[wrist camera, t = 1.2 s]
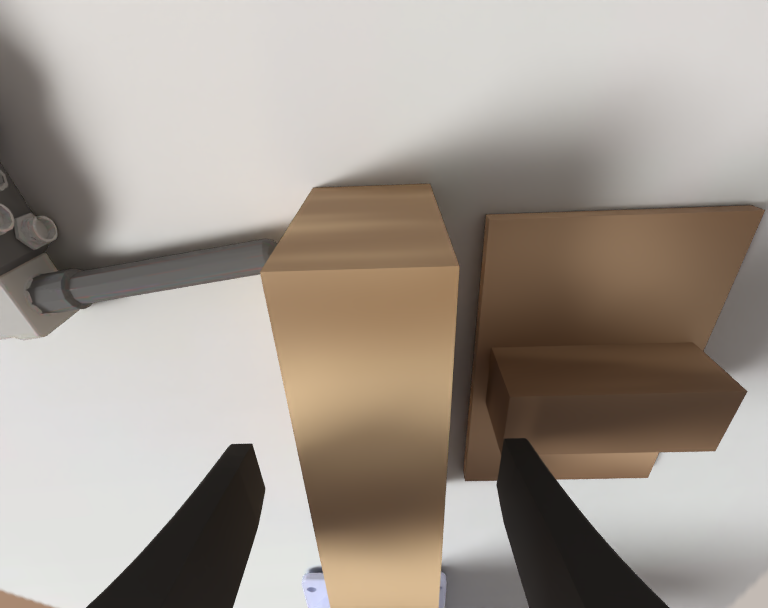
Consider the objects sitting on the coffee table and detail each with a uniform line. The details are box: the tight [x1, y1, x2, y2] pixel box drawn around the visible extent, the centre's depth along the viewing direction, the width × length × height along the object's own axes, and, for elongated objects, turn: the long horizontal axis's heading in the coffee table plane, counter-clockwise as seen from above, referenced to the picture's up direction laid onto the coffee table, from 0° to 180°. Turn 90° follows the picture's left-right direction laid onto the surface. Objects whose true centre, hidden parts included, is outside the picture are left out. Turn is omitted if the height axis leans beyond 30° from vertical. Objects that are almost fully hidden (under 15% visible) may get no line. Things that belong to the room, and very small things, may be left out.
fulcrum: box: [463, 205, 765, 481], centre depth 14 cm, size 12×8×3 cm, turn 2°
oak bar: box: [260, 184, 459, 608], centre depth 13 cm, size 14×4×6 cm, turn 2°
